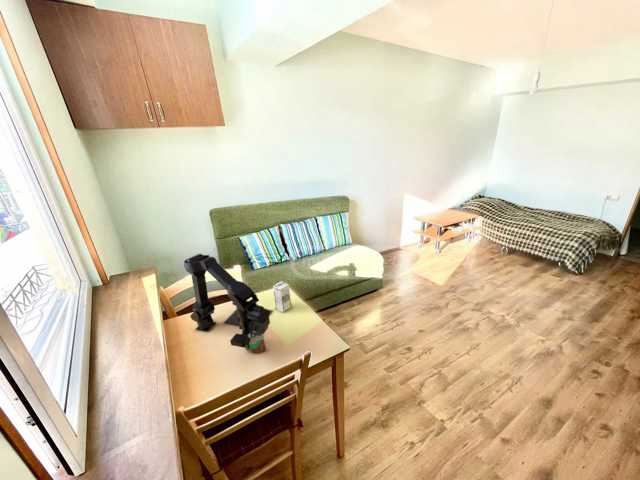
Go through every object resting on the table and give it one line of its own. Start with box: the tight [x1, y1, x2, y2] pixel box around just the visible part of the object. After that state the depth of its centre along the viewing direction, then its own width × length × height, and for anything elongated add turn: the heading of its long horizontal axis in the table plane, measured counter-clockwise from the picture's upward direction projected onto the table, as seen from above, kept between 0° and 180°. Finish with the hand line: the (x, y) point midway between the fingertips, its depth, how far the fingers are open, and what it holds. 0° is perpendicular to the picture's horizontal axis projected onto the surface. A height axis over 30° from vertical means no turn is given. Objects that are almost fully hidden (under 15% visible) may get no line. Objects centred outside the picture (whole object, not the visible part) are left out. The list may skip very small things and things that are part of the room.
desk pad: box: [223, 309, 272, 327], centre depth 139 cm, size 18×14×1 cm
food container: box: [240, 329, 266, 355], centre depth 118 cm, size 12×6×10 cm, turn 47°
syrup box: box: [272, 281, 292, 313], centre depth 143 cm, size 6×6×14 cm
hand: (253, 343), depth 119 cm, fingers closed on food container, 7 cm apart
